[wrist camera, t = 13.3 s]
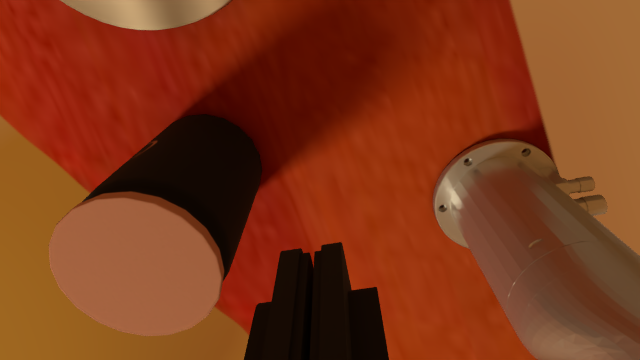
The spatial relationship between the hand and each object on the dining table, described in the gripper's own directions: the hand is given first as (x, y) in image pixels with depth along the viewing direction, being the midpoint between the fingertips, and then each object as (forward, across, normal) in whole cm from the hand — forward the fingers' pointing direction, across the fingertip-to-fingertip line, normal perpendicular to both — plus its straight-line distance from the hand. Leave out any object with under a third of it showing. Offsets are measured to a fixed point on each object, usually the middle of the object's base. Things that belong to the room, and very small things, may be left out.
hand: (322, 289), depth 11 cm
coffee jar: (+29, +13, +6) cm, 33 cm away
